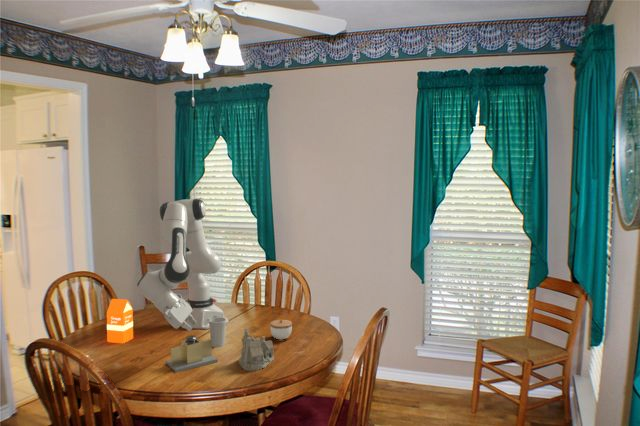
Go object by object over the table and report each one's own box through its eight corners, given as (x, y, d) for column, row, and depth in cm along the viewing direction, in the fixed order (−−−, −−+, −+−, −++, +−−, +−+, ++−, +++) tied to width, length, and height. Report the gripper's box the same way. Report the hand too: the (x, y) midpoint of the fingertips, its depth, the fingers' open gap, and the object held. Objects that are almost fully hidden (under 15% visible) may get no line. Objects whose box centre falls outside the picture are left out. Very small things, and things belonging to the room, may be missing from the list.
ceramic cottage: (242, 371, 185) (244, 335, 185) (236, 358, 201) (238, 324, 200) (279, 369, 190) (281, 334, 190) (271, 356, 206) (273, 323, 205)
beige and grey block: (208, 352, 202) (208, 335, 201) (214, 357, 197) (214, 339, 196) (168, 362, 191) (168, 343, 190) (174, 367, 186) (173, 348, 185)
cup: (211, 348, 210) (211, 323, 209) (207, 343, 217) (207, 318, 216) (228, 346, 213) (228, 321, 213) (223, 340, 220) (223, 316, 220)
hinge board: (206, 353, 204) (206, 351, 204) (217, 361, 195) (217, 359, 195) (166, 363, 193) (166, 360, 193) (175, 372, 184) (175, 369, 184)
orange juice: (123, 343, 215) (122, 302, 213) (107, 342, 217) (106, 300, 215) (133, 338, 223) (132, 297, 221) (117, 336, 224) (116, 296, 223)
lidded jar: (265, 339, 223) (265, 320, 222) (277, 333, 232) (278, 315, 232) (284, 343, 218) (284, 324, 217) (296, 336, 227) (296, 318, 227)
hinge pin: (194, 357, 196) (193, 334, 195) (198, 360, 193) (197, 337, 192) (185, 359, 194) (184, 337, 193) (189, 363, 191) (188, 340, 189)
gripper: (167, 305, 181) (192, 329, 182) (180, 292, 201) (203, 314, 203) (156, 316, 181) (181, 340, 182) (170, 302, 202) (193, 324, 203)
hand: (193, 326), depth 193 cm, fingers open, 6 cm apart
